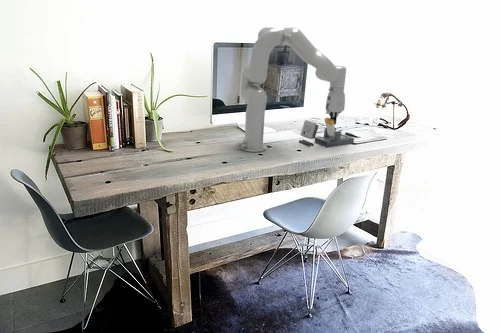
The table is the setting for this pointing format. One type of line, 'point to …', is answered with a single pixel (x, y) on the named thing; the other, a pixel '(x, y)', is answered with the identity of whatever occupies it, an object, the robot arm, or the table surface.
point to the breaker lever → (330, 127)
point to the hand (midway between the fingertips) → (332, 123)
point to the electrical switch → (309, 129)
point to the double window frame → (333, 140)
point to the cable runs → (306, 143)
